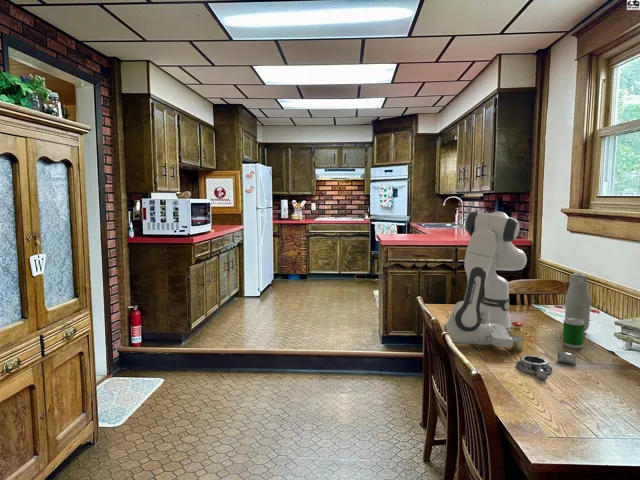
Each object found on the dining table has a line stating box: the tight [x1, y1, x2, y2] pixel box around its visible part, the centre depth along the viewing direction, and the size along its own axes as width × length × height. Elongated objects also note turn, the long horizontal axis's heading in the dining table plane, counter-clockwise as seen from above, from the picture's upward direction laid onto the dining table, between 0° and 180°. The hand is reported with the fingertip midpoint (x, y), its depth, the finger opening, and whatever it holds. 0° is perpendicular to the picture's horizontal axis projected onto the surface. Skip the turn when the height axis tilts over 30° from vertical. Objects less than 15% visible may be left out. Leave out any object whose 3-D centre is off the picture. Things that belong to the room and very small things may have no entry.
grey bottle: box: [564, 272, 592, 332], centre depth 201 cm, size 10×10×28 cm
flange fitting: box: [515, 354, 553, 382], centre depth 157 cm, size 12×16×4 cm
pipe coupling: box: [557, 351, 577, 366], centre depth 165 cm, size 6×4×4 cm, turn 54°
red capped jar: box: [509, 321, 525, 353], centre depth 179 cm, size 5×5×12 cm
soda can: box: [562, 317, 585, 350], centre depth 183 cm, size 8×8×12 cm
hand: (519, 336), depth 178 cm, fingers closed on red capped jar, 5 cm apart
